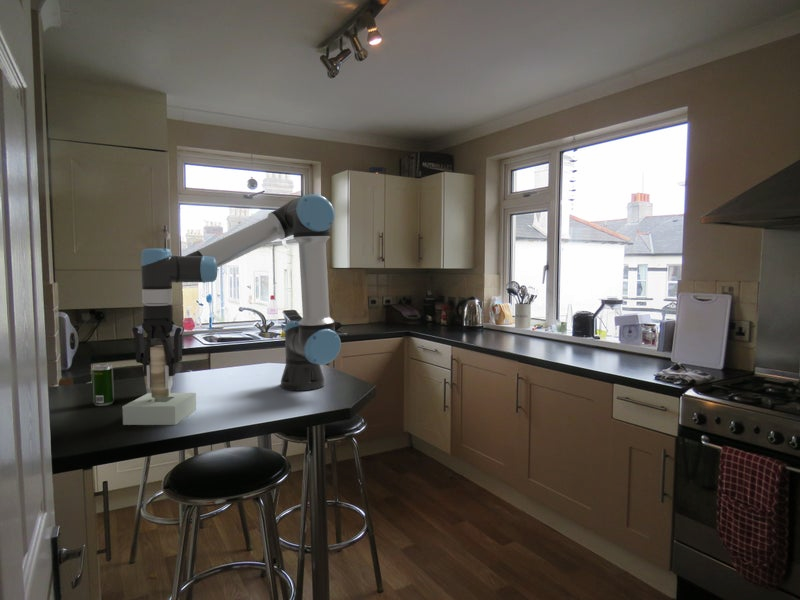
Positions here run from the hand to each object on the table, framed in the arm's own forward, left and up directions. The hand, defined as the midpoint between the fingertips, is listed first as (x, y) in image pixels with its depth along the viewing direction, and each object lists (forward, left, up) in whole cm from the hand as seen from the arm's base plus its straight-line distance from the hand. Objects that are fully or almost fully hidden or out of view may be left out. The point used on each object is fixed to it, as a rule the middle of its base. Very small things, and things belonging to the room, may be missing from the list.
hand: (160, 387), depth 142 cm
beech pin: (0, 0, -2) cm, 2 cm away
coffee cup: (+11, -23, -9) cm, 27 cm away
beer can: (+24, -13, -9) cm, 28 cm away
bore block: (0, 0, -8) cm, 8 cm away
